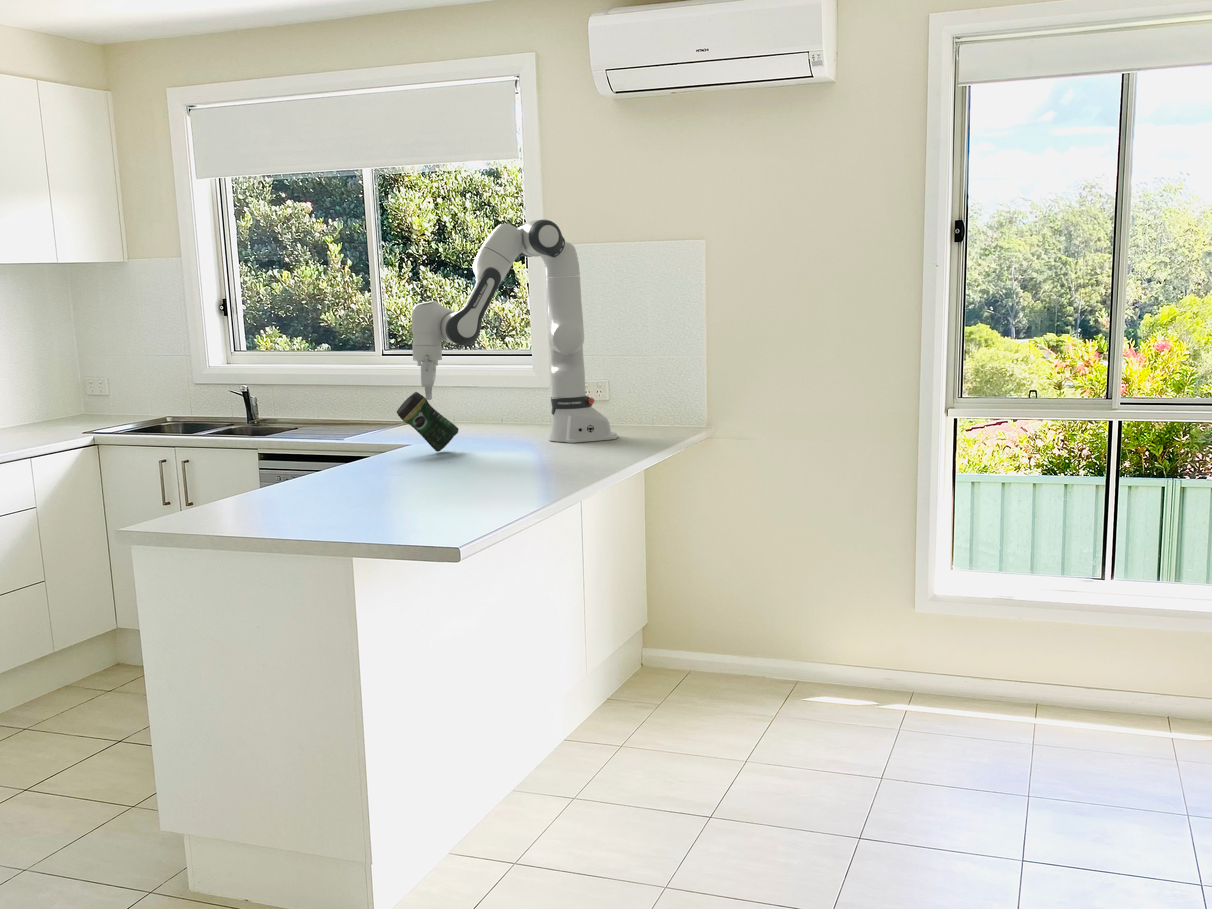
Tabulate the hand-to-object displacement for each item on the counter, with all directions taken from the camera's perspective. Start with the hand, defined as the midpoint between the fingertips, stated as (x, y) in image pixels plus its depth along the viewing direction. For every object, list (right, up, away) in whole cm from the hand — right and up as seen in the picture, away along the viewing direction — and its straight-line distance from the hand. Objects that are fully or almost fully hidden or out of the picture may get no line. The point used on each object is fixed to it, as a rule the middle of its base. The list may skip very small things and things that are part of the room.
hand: (428, 399), depth 338 cm
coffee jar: (+6, -13, +3) cm, 15 cm away
